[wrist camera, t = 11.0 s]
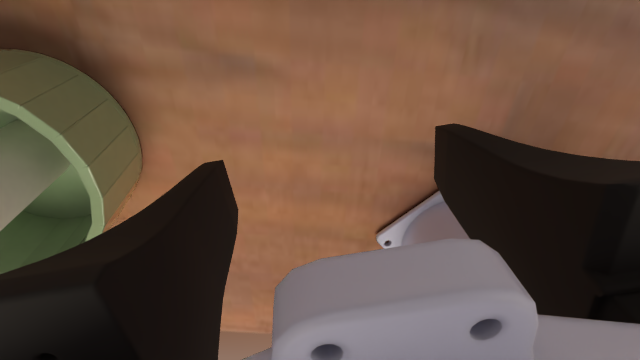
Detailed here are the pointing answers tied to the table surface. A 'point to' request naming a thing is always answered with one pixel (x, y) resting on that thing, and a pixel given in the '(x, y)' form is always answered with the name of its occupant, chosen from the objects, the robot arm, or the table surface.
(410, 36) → the table surface
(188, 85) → the table surface
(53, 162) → the white canister
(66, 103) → the holder
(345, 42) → the table surface
